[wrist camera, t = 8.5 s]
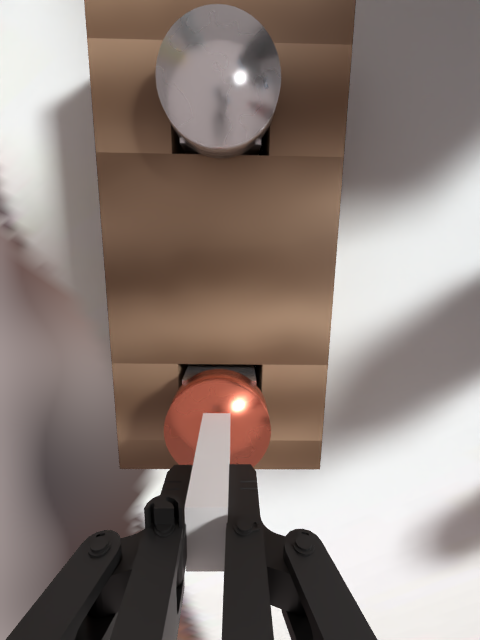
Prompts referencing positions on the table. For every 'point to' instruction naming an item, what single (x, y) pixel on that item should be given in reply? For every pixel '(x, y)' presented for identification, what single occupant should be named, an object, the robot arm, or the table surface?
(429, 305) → the table surface
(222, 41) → the grey plunger
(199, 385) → the red plunger
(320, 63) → the block
